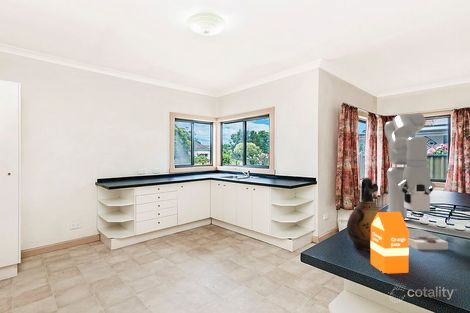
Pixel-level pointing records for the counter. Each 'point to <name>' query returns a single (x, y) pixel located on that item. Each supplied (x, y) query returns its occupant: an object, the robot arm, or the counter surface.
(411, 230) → the scale pan
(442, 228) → the counter surface
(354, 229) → the ceramic jug
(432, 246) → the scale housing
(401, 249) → the orange juice
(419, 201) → the medicine bottle
